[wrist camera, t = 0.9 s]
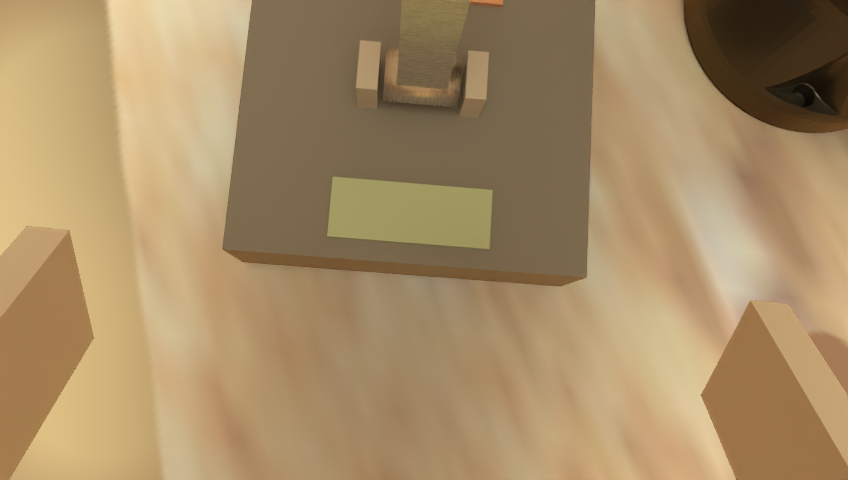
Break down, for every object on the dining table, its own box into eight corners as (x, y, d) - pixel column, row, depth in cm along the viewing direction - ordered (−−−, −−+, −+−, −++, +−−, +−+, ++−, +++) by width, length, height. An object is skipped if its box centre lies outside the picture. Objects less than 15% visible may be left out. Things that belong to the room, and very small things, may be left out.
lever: (457, 64, 35) (511, -135, 20) (453, 116, 34) (506, -49, 20) (387, 58, 34) (392, -148, 20) (382, 110, 34) (384, -62, 20)
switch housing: (571, -5, 41) (613, -82, 34) (560, 286, 39) (603, 271, 31) (276, -35, 40) (253, -121, 33) (243, 261, 38) (209, 241, 30)
